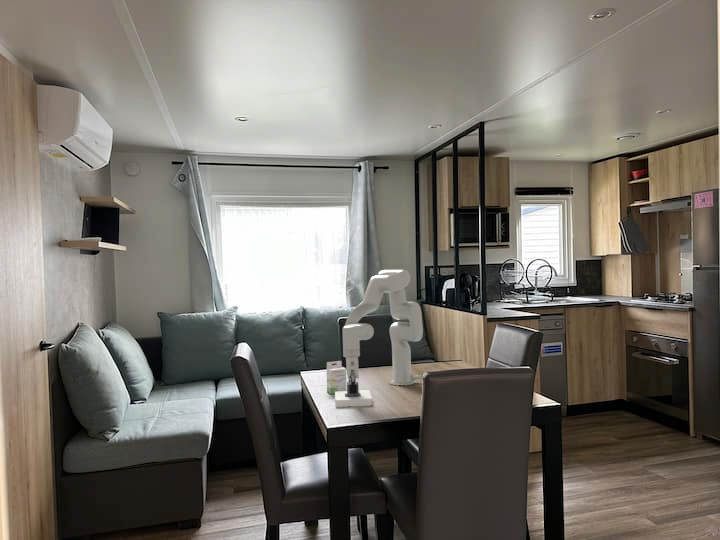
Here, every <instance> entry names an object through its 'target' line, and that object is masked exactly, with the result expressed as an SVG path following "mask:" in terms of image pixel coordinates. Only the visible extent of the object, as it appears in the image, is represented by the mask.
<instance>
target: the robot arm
mask: <svg viewBox="0 0 720 540" xmlns="http://www.w3.org/2000/svg"><path fill="white" fill-rule="evenodd" d="M410 282H411V274H410V273H409V271H408V270H406V269H383V270H380V271H379V272H378V273H377V275H374V276H372V277H370V279H369V282H368V284H367V287H366V290H365V291H364V295H363V298H362V300H361V302H360V303H359V304H358V305H356V306H355V307H354V308H353V309H352V310H351V311H350V312H349V314H348V315H347V318H346V320H345V323H344V326H343V327H342V357H344V358H345V362H346V363H345V365H346V367H345V368H346V377H347V379H348V382H350V384H349V391H350V394H355V393H357V384H356V382H357V380H359V379H360V377H359V376H360V374H359V372H360V371H359V357H360V356H361V349H360V348H361V345H360V342H361V341H368V340H371V339H372V337H373V336H374V333H375V331H374V330H375V329H374V327H373V326H372V325H371V324H370V323H365V322H364V323H361V322H359V321H360V320H361V319H362V318H363V317H365V316H366V315H368V314H371V313H374V312H375V311H377V310H378V309H379V307H380V306H381V302H382V299H383V297H384V294H385V293H387V294H388V297H389V308H390V316H391V317H392V318H393V319H394V320H397V322H393V323H392V324H391V325H390V327H389V336H390V341H391V356H392V379H391V380H390V381H389V383H390V385H392V386H393V385H394V386H399V385H401V387H402V386H403V385H404V386H411V385H415V383H416V382H415V380H421V378H422V377H421V375H417V374H415V375H413V373H412V361H411V360H412V357H411V356H412V354H411V352H412V351H411V346H410V344H409V342H420V341H421V340H422V338H423V335H424V334H423V333H424V328H423V327H424V326H423V315H422V310H421V309H422V307H421V306H420V304H419V303H418V302H416V301H410V300H409V301H408V300H407V297H406V296H407V295H406V290H405V288H406V287H407V286H408V285H409V284H410ZM398 320H399V321H398ZM407 321H409V322H407Z"/></svg>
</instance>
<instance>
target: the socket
mask: <svg viewBox="0 0 720 540" xmlns="http://www.w3.org/2000/svg"><path fill="white" fill-rule="evenodd" d="M334 401H335V402H334V403H335V408H344V407H346V408H348V406H351V407H367V406H371V405H372V406H373V397H372V394H371V392H370V389H362V390H360V389H359V397H347V390H346V391H336V392H335V394H334ZM372 406H371V407H372Z"/></svg>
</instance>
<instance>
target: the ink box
mask: <svg viewBox="0 0 720 540" xmlns="http://www.w3.org/2000/svg"><path fill="white" fill-rule="evenodd" d="M342 363H343V362H342V360H336V361H327V362H326V393H327V394H330V395H333V394H334V395H335V392H336V391H347V367H344V366H342ZM333 364H334V365H333Z"/></svg>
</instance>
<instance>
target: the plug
mask: <svg viewBox="0 0 720 540" xmlns="http://www.w3.org/2000/svg"><path fill="white" fill-rule="evenodd" d="M349 384H350V382H349V381H348V382H347V381H346V391H347V397H359V390H360V389H359V382H358V381H356V384H357V393H355V394H350V391H349Z"/></svg>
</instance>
